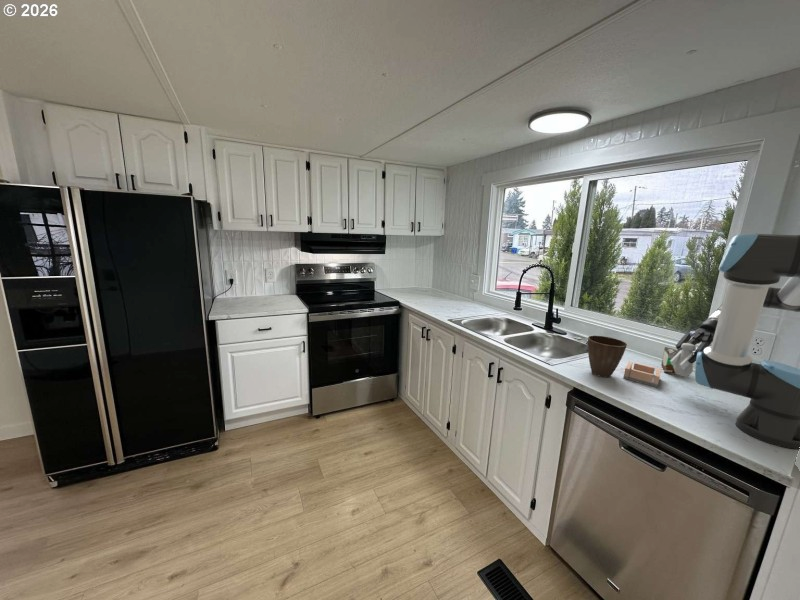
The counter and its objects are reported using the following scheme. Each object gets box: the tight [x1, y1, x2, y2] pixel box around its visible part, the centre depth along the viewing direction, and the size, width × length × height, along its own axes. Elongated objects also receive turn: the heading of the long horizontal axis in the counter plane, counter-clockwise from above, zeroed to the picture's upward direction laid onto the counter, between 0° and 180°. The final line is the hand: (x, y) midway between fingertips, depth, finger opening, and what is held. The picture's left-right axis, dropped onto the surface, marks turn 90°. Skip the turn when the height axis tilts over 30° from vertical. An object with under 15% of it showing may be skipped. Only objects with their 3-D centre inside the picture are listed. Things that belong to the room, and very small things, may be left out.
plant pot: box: [587, 335, 628, 378], centre depth 144 cm, size 15×15×16 cm
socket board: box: [623, 361, 662, 388], centre depth 143 cm, size 12×12×5 cm
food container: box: [660, 346, 678, 374], centre depth 152 cm, size 12×6×10 cm, turn 148°
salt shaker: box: [674, 343, 697, 377], centre depth 128 cm, size 6×6×13 cm
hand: (676, 365), depth 127 cm, fingers closed on salt shaker, 3 cm apart
